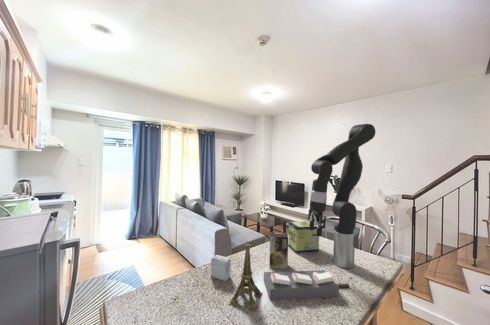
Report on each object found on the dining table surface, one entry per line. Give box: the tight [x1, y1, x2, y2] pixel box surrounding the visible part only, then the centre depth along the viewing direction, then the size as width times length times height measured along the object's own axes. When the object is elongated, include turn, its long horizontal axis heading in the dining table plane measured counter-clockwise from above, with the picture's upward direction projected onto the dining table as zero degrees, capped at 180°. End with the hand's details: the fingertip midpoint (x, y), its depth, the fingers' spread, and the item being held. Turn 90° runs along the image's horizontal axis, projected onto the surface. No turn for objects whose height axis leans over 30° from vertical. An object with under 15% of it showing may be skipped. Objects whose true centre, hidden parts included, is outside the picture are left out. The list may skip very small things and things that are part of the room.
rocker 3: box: [313, 271, 334, 284], centre depth 84 cm, size 7×4×2 cm, turn 96°
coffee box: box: [268, 231, 289, 270], centre depth 104 cm, size 9×6×16 cm
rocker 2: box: [292, 273, 312, 284], centre depth 83 cm, size 7×4×2 cm, turn 96°
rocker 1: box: [271, 273, 290, 285], centre depth 82 cm, size 7×4×2 cm, turn 96°
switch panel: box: [263, 270, 350, 300], centre depth 86 cm, size 36×12×5 cm, turn 96°
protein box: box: [288, 220, 320, 254], centre depth 125 cm, size 10×16×16 cm
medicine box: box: [210, 254, 232, 282], centre depth 92 cm, size 8×4×9 cm, turn 65°
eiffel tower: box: [228, 242, 263, 313], centre depth 78 cm, size 11×11×25 cm
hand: (314, 232), depth 101 cm, fingers open, 8 cm apart
